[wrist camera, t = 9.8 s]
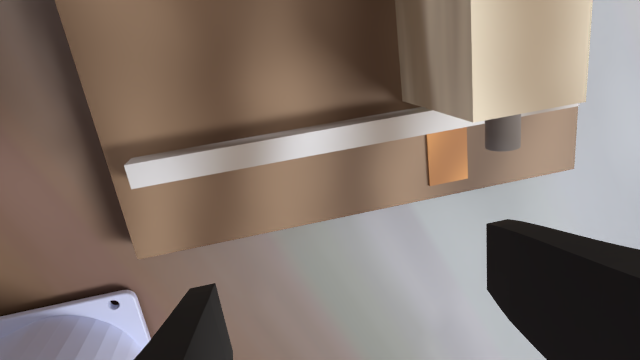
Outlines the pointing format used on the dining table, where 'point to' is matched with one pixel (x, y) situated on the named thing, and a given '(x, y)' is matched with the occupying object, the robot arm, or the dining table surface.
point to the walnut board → (274, 117)
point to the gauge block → (493, 59)
